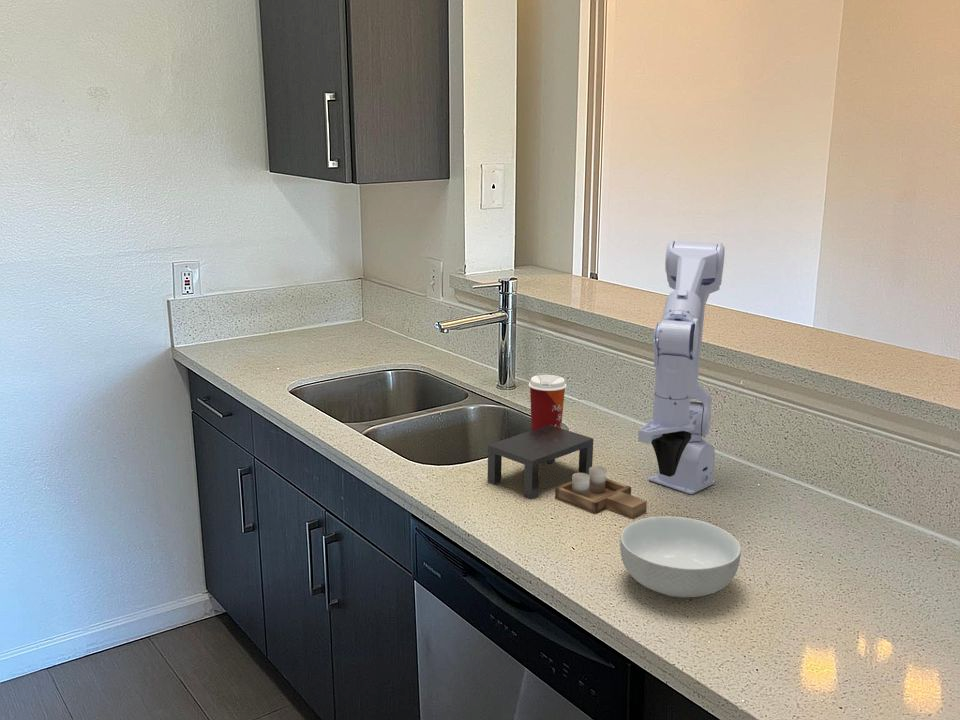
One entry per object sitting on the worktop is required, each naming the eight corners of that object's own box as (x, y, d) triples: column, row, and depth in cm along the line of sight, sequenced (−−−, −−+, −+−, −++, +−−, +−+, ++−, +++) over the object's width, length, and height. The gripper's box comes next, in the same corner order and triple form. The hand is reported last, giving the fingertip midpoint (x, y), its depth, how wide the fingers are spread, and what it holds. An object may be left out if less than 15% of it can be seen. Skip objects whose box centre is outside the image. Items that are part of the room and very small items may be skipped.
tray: (656, 506, 159) (657, 482, 158) (621, 523, 152) (622, 498, 151) (590, 483, 169) (591, 460, 168) (555, 498, 162) (555, 474, 161)
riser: (591, 474, 173) (593, 438, 171) (531, 499, 161) (532, 461, 160) (548, 459, 180) (549, 424, 179) (487, 481, 169) (487, 445, 167)
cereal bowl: (666, 626, 122) (670, 578, 120) (595, 572, 136) (597, 528, 134) (763, 597, 129) (767, 551, 127) (685, 549, 143) (688, 507, 142)
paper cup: (562, 452, 184) (564, 385, 181) (524, 449, 186) (525, 382, 182) (566, 439, 192) (568, 374, 188) (530, 436, 193) (531, 372, 189)
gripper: (667, 409, 138) (661, 493, 142) (718, 390, 148) (712, 469, 152) (629, 399, 143) (625, 480, 147) (681, 381, 153) (676, 458, 157)
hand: (667, 474), depth 150 cm, fingers closed
